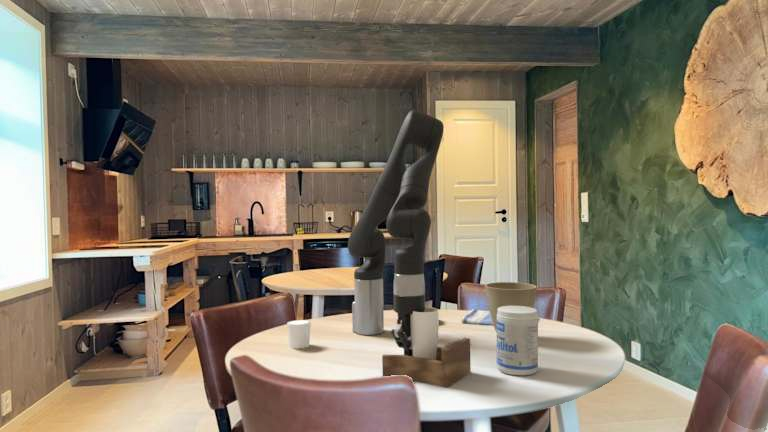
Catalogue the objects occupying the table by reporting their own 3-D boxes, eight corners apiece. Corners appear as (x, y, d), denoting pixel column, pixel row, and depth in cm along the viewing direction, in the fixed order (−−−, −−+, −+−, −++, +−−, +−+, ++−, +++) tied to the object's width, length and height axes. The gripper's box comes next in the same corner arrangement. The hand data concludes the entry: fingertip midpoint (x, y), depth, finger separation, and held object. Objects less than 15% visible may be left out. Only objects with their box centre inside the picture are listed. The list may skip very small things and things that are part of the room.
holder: (380, 377, 114) (380, 342, 114) (414, 359, 127) (413, 329, 127) (444, 390, 105) (443, 352, 105) (473, 370, 118) (473, 336, 118)
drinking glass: (437, 378, 113) (437, 313, 113) (408, 376, 114) (407, 311, 114) (440, 368, 119) (439, 307, 119) (412, 367, 121) (412, 306, 121)
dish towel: (471, 315, 185) (471, 307, 185) (537, 319, 175) (536, 311, 175) (459, 324, 169) (459, 316, 169) (530, 330, 159) (530, 321, 159)
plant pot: (506, 347, 137) (505, 290, 137) (476, 336, 151) (475, 284, 151) (548, 341, 143) (547, 286, 143) (515, 330, 157) (514, 280, 157)
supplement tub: (489, 371, 117) (488, 309, 117) (507, 361, 124) (506, 303, 124) (528, 379, 111) (527, 314, 111) (545, 369, 118) (544, 307, 118)
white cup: (315, 343, 145) (315, 320, 145) (304, 350, 138) (303, 325, 138) (294, 342, 147) (294, 318, 147) (282, 348, 141) (282, 323, 141)
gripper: (409, 286, 126) (410, 354, 126) (380, 294, 115) (381, 368, 115) (435, 289, 122) (436, 359, 122) (408, 297, 111) (408, 374, 111)
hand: (409, 363), depth 119 cm, fingers closed
